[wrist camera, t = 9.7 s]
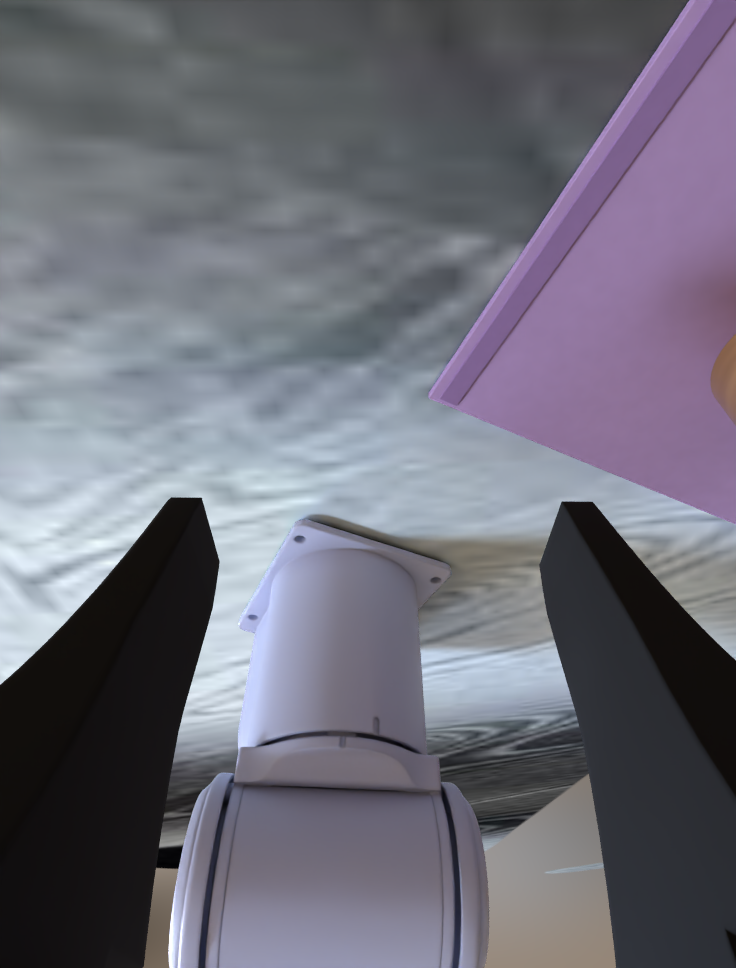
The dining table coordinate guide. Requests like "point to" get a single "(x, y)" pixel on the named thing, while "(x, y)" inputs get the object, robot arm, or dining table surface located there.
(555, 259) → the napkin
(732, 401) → the salt mill
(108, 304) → the dining table surface
